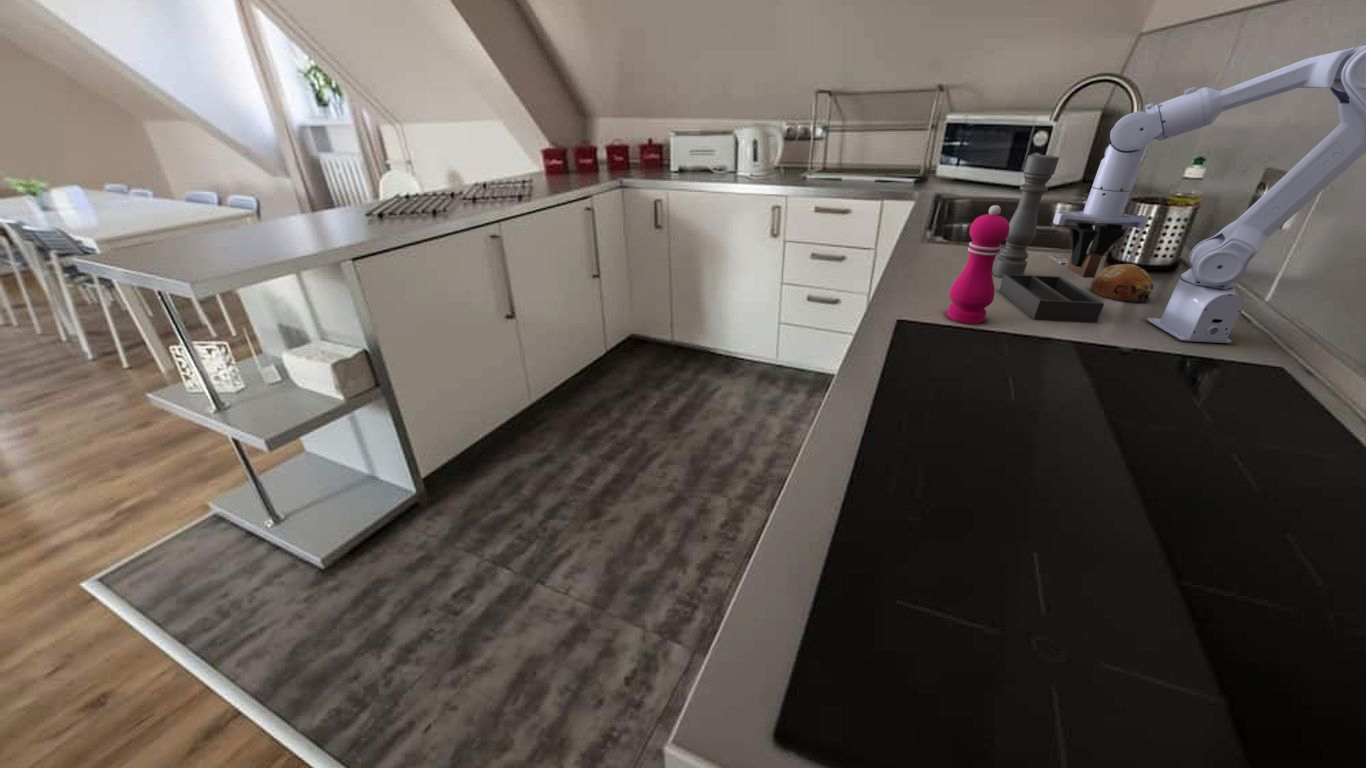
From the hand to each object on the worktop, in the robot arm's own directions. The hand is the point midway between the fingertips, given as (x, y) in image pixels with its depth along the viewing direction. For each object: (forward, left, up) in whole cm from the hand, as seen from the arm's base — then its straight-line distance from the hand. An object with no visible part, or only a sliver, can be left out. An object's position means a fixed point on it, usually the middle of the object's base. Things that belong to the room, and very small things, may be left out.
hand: (1082, 265), depth 103 cm
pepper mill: (-8, +22, -9) cm, 25 cm away
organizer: (+1, +4, -9) cm, 9 cm away
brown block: (+4, 0, -1) cm, 4 cm away
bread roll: (+10, -15, -9) cm, 20 cm away
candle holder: (+21, +3, -9) cm, 23 cm away
